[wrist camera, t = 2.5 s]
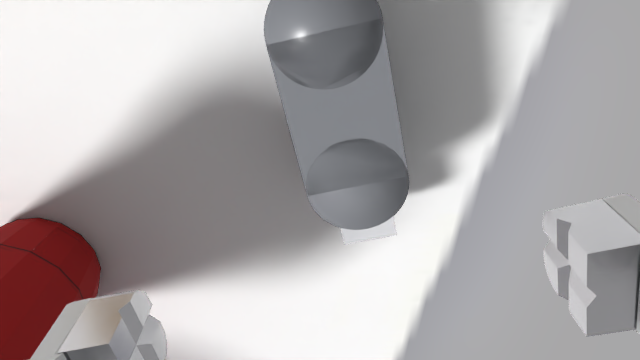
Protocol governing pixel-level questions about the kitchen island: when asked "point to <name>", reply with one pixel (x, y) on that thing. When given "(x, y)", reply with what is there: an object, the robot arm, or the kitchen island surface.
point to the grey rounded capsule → (340, 111)
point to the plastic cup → (40, 281)
